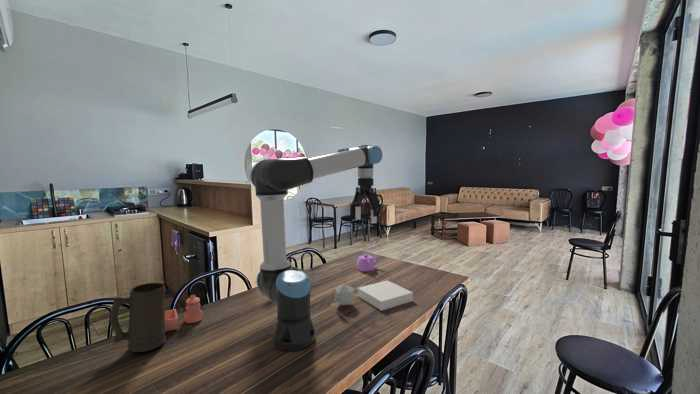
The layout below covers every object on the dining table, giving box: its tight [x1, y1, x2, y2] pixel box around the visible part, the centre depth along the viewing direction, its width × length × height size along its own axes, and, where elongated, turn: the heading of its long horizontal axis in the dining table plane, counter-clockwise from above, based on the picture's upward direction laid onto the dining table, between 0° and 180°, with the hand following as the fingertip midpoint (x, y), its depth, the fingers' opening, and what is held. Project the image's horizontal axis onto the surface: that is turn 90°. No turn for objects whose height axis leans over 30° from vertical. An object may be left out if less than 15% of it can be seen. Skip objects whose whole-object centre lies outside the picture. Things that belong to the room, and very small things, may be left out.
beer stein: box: [108, 282, 167, 353], centre depth 99 cm, size 15×11×20 cm
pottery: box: [165, 294, 204, 333], centre depth 114 cm, size 18×10×10 cm, turn 125°
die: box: [334, 283, 355, 306], centre depth 130 cm, size 8×9×10 cm
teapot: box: [356, 253, 381, 273], centre depth 177 cm, size 15×14×10 cm
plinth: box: [357, 280, 414, 311], centre depth 137 cm, size 18×18×4 cm
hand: (365, 221), depth 144 cm, fingers open, 13 cm apart
